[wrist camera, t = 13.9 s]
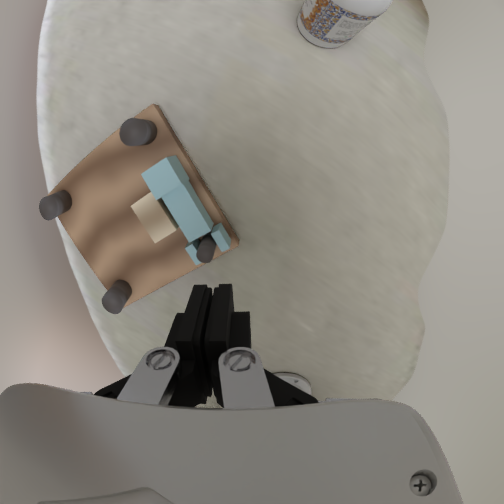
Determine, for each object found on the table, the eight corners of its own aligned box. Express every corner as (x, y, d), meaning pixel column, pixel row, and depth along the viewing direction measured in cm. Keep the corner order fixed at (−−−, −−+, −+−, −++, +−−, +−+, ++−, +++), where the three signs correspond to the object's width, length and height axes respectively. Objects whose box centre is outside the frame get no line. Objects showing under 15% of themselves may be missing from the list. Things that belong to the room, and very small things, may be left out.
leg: (231, 239, 33) (229, 252, 29) (199, 255, 33) (194, 270, 30) (180, 152, 29) (171, 154, 25) (148, 172, 29) (136, 177, 26)
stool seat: (239, 240, 35) (237, 263, 29) (126, 301, 38) (109, 329, 32) (158, 105, 28) (137, 98, 22) (54, 193, 32) (24, 205, 25)
